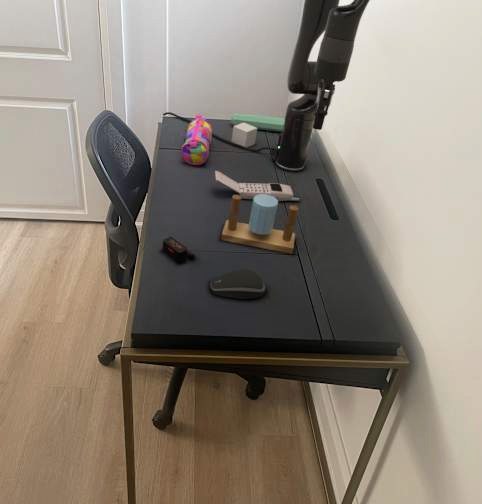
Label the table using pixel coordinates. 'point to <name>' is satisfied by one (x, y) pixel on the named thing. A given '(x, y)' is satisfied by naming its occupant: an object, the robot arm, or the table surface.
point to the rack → (271, 241)
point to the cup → (263, 214)
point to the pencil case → (197, 141)
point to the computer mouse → (238, 285)
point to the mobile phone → (257, 189)
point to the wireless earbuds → (176, 250)
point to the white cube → (244, 134)
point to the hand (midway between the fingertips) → (317, 122)
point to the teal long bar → (259, 121)
